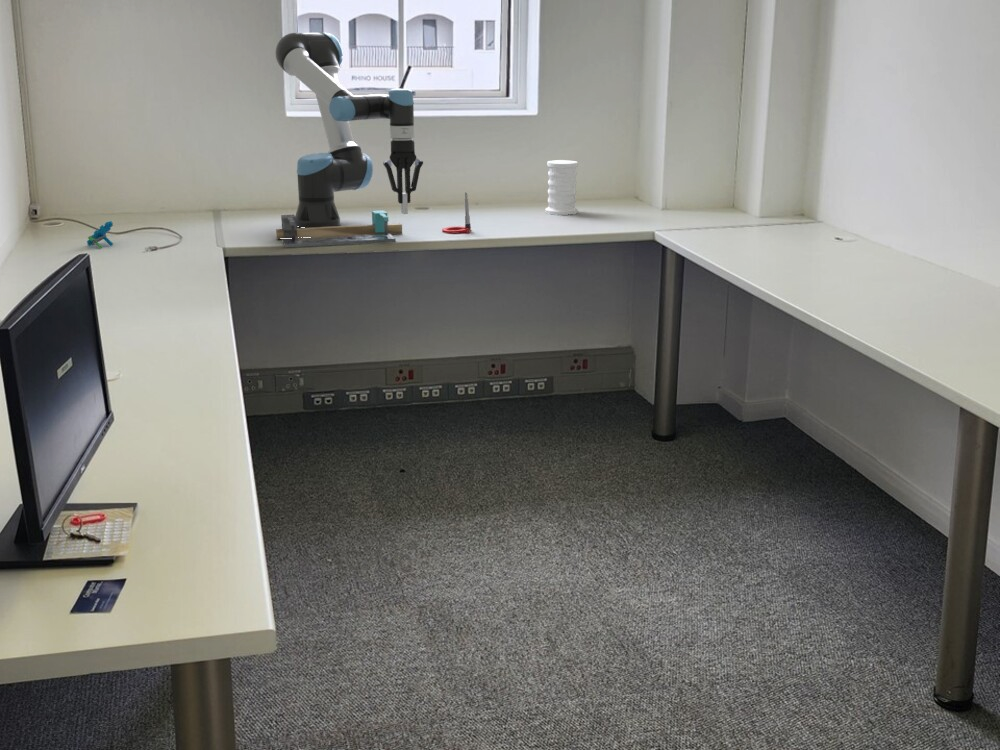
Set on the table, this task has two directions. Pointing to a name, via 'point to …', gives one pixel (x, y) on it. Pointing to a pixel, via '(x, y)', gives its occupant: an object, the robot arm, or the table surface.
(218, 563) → the table surface
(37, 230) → the table surface
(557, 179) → the decorative container
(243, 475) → the table surface
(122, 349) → the table surface
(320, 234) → the gauge rail
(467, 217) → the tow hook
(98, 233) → the blue blocky piece
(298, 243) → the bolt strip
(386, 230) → the sliding jaw
